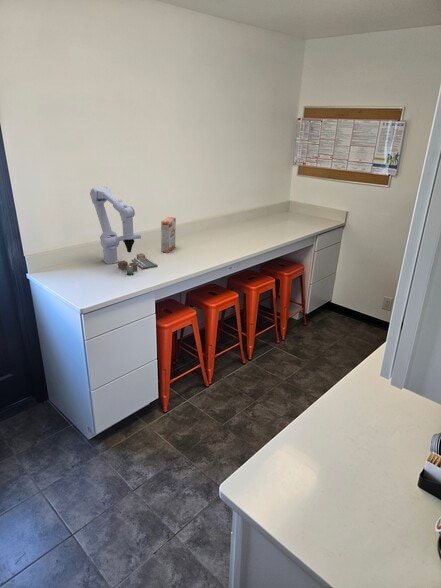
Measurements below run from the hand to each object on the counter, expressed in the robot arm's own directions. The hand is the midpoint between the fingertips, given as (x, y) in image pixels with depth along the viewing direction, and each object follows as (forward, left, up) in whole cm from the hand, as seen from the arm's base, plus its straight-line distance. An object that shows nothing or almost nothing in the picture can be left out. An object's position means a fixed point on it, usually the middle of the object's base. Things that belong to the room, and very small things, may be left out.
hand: (129, 252), depth 229 cm
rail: (-4, +11, -10) cm, 16 cm away
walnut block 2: (+3, +1, -11) cm, 11 cm away
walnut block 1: (-3, -3, -11) cm, 12 cm away
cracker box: (-23, +37, -11) cm, 45 cm away
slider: (-9, +11, -9) cm, 17 cm away
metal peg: (+8, -3, -10) cm, 13 cm away
